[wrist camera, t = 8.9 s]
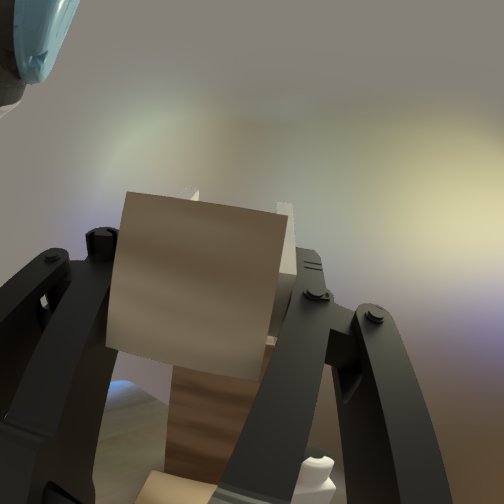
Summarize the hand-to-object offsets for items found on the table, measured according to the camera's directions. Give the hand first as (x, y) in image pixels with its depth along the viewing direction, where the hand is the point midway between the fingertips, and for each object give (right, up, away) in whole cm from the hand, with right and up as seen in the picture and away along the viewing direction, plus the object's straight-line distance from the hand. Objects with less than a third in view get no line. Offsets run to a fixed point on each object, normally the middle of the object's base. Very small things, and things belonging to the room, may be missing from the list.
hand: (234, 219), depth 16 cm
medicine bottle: (+8, -43, +20) cm, 48 cm away
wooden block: (-1, -5, +4) cm, 6 cm away
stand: (-7, -40, +23) cm, 47 cm away
